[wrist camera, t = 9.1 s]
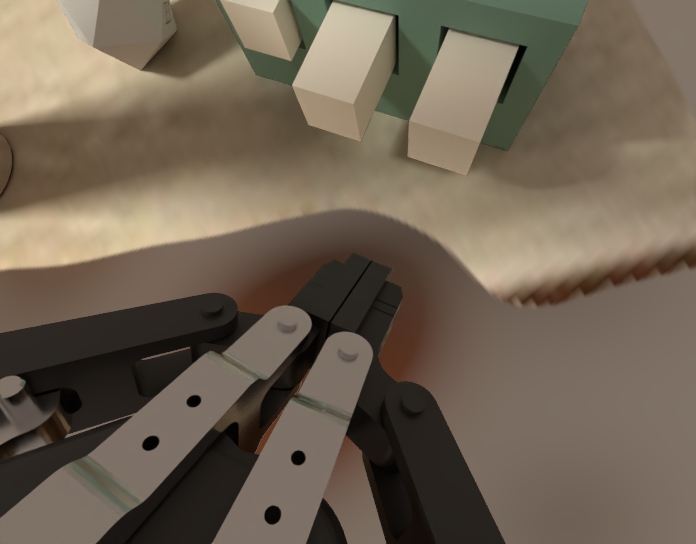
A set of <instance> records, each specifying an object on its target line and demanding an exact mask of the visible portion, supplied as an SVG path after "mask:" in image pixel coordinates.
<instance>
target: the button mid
mask: <svg viewBox="0 0 696 544" xmlns="http://www.w3.org/2000/svg"><path fill="white" fill-rule="evenodd" d="M395 64H396V20H395V14H391V13H387V12H383V11H379V10H374V9H370V8H366V7H362V6H358V5H354V4H350V3H345V2H341V1H337V0H333V2H332V4H331V6H330V8H329V10H328V12H327V14H326V16H325V18H324V20H323V23H322V25H321V27H320V29H319V31H318V33H317V35H316V37H315V39H314V41H313V43H312V45H311V47H310V49H309V51H308V53H307V55H306V58H305V60H304V62H303V64H302V66H301V68H300V70H299V72H298V74H297V76H296V78H295V80H294V82H293V84H292V87H293V89H294V92H295V94H296V97H297V99H298V101H299V104H300V106H301V108H302V111H303V113H304V116H305V118H306V120H307V123H308V125H310V126H313V127H317V128H320V129H323V130H326V131H329V132H332V133H335V134H338V135H341V136H344V137H348V138H351V139H354V140H357V141H360V142H361V140H362V138H363V136H364V133H365V131H366V129H367V127H368V124H369V122H370V120H371V118H372V116H373V113H374V111H375V109H376V107H377V104H378V102H379V100H380V98H381V96H382V93H383V91H384V89H385V87H386V84H387V82H388V80H389V78H390V76H391V73H392V71H393V69H394V67H395Z"/></svg>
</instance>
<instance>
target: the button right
mask: <svg viewBox="0 0 696 544" xmlns="http://www.w3.org/2000/svg"><path fill="white" fill-rule="evenodd" d="M518 48H519V44H515V43H511V42H507V41H503V40H499V39H495V38H490V37H486V36H482V35H478V34H474V33H470V32H466V31H461V30H457V29H453V28H449V30H448V33H447V35H446V37H445V39H444V42H443V44H442V46H441V49H440V51H439V53H438V56H437V58H436V60H435V62H434V65H433V67H432V69H431V72H430V74H429V76H428V79H427V81H426V83H425V85H424V88H423V90H422V92H421V95H420V97H419V99H418V101H417V104H416V106H415V108H414V111H413V113H412V115H411V118H410V120H409V134H408V157H410V158H413V159H416V160H419V161H422V162H425V163H428V164H431V165H434V166H438V167H441V168H444V169H447V170H450V171H453V172H456V173H459V174H462V175H465V176H467V174H468V171H469V169H470V166H471V164H472V161H473V159H474V156H475V154H476V151H477V149H478V147H479V144H480V142H481V139H482V137H483V134H484V132H485V129H486V127H487V124H488V122H489V119H490V117H491V114H492V112H493V109H494V107H495V105H496V102H497V100H498V97H499V95H500V92H501V90H502V87H503V85H504V82H505V80H506V77H507V75H508V72H509V70H510V67H511V65H512V63H513V60H514V58H515V55H516V53H517V50H518Z"/></svg>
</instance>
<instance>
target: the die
mask: <svg viewBox="0 0 696 544" xmlns="http://www.w3.org/2000/svg"><path fill="white" fill-rule="evenodd" d="M57 2H58V3H59V5H60V7H61V9H62V11H63V13H64V14H65V16H66V18H67V20H68V22H69V24H70V25H71V27H72V29H73V31H74V33H75V35H76V36H77V38H78V39H80V40H82V41H83V42H85V43H87V44H88V45H90V46H92V47H94V48H96V49H98V50H100V51H102V52H104V53H106V54H108V55H110V56H112V57H114V58H116V59H118V60H120V61H122V62H124V63H126V64H128V65H130V66H132V67H134V68H137V69H139V70H142V69H143V68H144V66H145V65H146V64H147V63H148V62H149V61H150V60H151V59H152V58H153V57H154V55H155V54H156V53H157V52H158V51H159V50H160V49H161V48H162V47H163V45H164V44H165V43H166V42H167V41H168V40H169V39H170V38H171V37H172V36H173V34H174V33H175V32H176V31H177V28H176V24H175V20H174V16H173V12H172V8H171V4H170V0H57Z"/></svg>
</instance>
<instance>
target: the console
mask: <svg viewBox="0 0 696 544" xmlns="http://www.w3.org/2000/svg"><path fill="white" fill-rule="evenodd" d="M216 1H217V3H218V5H219V7H220V9H221V11H222V13H223V14H224V16H225V18H226V20H227V22H228V24H229V26H230V27H231V29H232V31H233V33H234V35H235V37H236V39H237V41H238V42H239V44H240V46H241V48H242V50H243V52H244V54H245V55H246V57H247V59H248V61H249V63H250V65H251V67H252V68H253V70H254V72H255V74H256V75H259V76H262V77H266V78H269V79H272V80H276V81H279V82H282V83H286V84H289V85H292V84H293V82H294V80H295V78H296V76H297V74H298V72H299V70H300V68H301V66H302V64H303V62H304V60H305V58H306V55H307V53H308V51H309V49H310V47H311V45H312V43H313V41H314V39H315V37H316V35H317V33H318V31H319V29H320V27H321V25H322V23H323V20H324V18H325V16H326V14H327V12H328V10H329V8H330V6H331V4H332V2H333V0H291V3H292V6H293V9H294V13H295V16H296V19H297V22H298V25H299V28H300V31H301V35H302V38H303V39H302V41H301V43H300V45H299V47H298V49H297V51H296V53H295V55H294V57H293V59H292V61H289V60H286V59H282V58H279V57H275V56H272V55H268V54H265V53H261V52H258V51H254V50H251V49H247V48H245V47H244V45H243V43H242V41H241V39H240V37H239V35H238V34H237V32H236V30H235V28H234V26H233V24H232V22H231V20H230V18H229V16H228V15H227V13H226V11H225V9H224V7H223V5H222V3H221V1H220V0H216ZM337 1H341V2H345V3H350V4H354V5H358V6H362V7H366V8H370V9H374V10H379V11H383V12H387V13H391V14H395V20H396V64H395V67H394V69H393V71H392V73H391V76H390V78H389V80H388V82H387V84H386V87H385V89H384V91H383V93H382V96H381V98H380V100H379V102H378V104H377V107H376V109H375V111H379V112H382V113H385V114H388V115H392V116H395V117H398V118H402V119H405V120H408V121H409V120H410V118H411V115H412V113H413V111H414V108H415V106H416V104H417V101H418V99H419V97H420V95H421V92H422V90H423V88H424V85H425V83H426V81H427V79H428V76H429V74H430V72H431V69H432V67H433V65H434V62H435V60H436V58H437V56H438V53H439V51H440V49H441V46H442V44H443V42H444V39H445V37H446V35H447V33H448V30H449V28H453V29H457V30H461V31H466V32H470V33H474V34H478V35H482V36H486V37H490V38H495V39H499V40H503V41H507V42H511V43H515V44H519V48H518V50H517V53H516V55H515V58H514V60H513V63H512V65H511V67H510V70H509V72H508V75H507V77H506V80H505V82H504V85H503V87H502V90H501V92H500V95H499V97H498V100H497V102H496V105H495V107H494V109H493V112H492V114H491V117H490V119H489V122H488V124H487V127H486V129H485V132H484V134H483V137H482V139H481V143H485V144H488V145H491V146H495V147H498V148H501V149H505V150H508V149H509V147H510V146H511V144H512V142H513V140H514V139H515V137H516V135H517V133H518V131H519V130H520V128H521V126H522V124H523V123H524V121H525V119H526V117H527V116H528V114H529V112H530V110H531V109H532V107H533V105H534V103H535V101H536V100H537V98H538V96H539V94H540V93H541V91H542V89H543V87H544V86H545V84H546V82H547V80H548V79H549V77H550V75H551V73H552V71H553V70H554V68H555V66H556V64H557V63H558V61H559V59H560V57H561V56H562V54H563V52H564V50H565V48H566V47H567V45H568V43H569V41H570V40H571V38H572V36H573V34H574V33H575V31H576V29H577V27H578V25H579V23H580V20H581V18H582V15H583V12H584V10H585V7H586V5H587V2H588V0H337Z"/></svg>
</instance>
